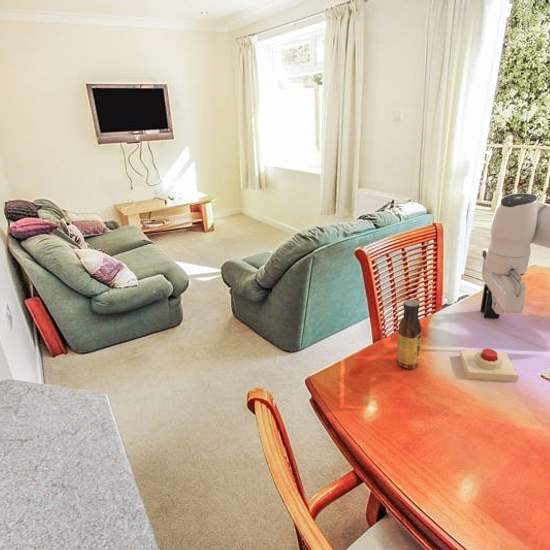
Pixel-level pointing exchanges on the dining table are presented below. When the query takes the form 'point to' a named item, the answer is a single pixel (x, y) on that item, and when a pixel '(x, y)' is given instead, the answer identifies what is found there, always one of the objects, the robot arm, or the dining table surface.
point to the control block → (488, 366)
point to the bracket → (488, 304)
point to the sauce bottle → (409, 336)
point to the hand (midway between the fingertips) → (497, 311)
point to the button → (489, 355)
